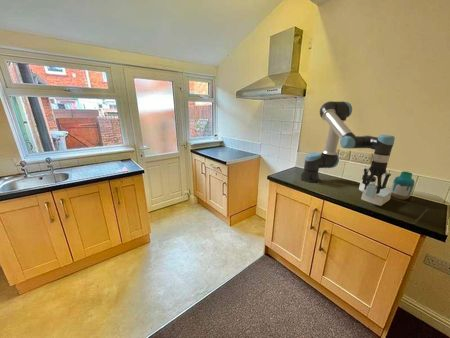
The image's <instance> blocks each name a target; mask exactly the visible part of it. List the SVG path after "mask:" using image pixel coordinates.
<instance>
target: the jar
mask: <svg viewBox="0 0 450 338" xmlns="http://www.w3.org/2000/svg"><path fill="white" fill-rule="evenodd" d="M363 177H364V174H363V175H362V177H361V180H360V183H359V186H358V187H359V188H358V190H359V191H360V192H361V191H362V190H364V188H365V184H363V183H362V181H363ZM369 177H370V174H368V175H367V180H368V178H369ZM367 180H366V182H367ZM376 181H377V176H373V178H372V180H371V181H370V183H369V185H370V184H373V185H376V184H377V183H376Z"/></svg>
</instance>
